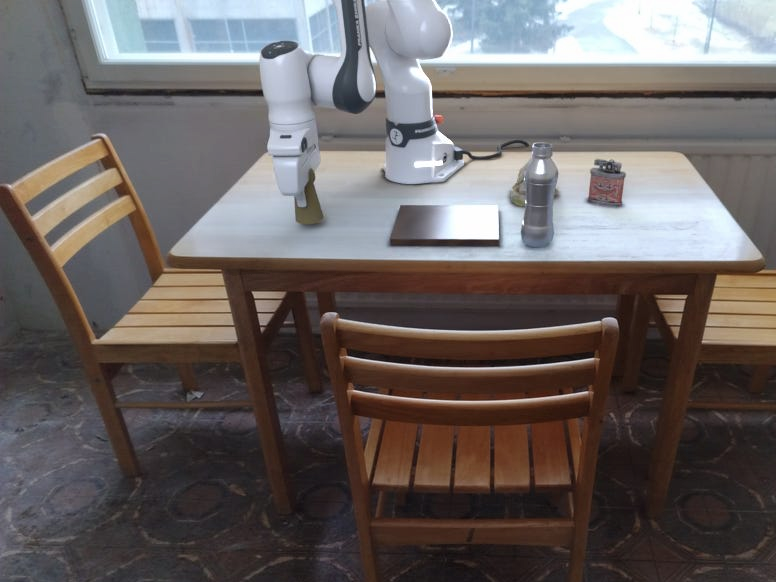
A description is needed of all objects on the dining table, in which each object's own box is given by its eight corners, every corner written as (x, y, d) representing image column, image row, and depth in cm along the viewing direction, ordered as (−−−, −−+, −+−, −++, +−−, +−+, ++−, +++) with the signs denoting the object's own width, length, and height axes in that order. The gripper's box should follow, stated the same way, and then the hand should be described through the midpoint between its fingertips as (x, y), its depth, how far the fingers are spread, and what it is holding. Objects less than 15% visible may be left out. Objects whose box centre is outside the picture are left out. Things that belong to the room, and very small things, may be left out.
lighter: (623, 203, 151) (629, 160, 145) (619, 208, 148) (625, 164, 142) (589, 198, 153) (594, 155, 148) (585, 202, 151) (589, 159, 145)
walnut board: (498, 212, 146) (498, 205, 145) (499, 246, 132) (499, 239, 131) (400, 211, 147) (400, 204, 146) (390, 246, 132) (389, 238, 131)
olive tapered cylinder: (317, 225, 136) (308, 174, 130) (290, 223, 137) (280, 172, 131) (328, 213, 141) (320, 163, 135) (302, 212, 142) (293, 162, 136)
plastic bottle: (518, 238, 135) (521, 140, 123) (550, 237, 135) (557, 139, 124) (522, 251, 130) (526, 151, 118) (556, 250, 130) (563, 150, 119)
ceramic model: (514, 184, 161) (515, 143, 155) (559, 187, 159) (562, 146, 153) (504, 205, 149) (505, 162, 144) (553, 209, 148) (556, 165, 142)
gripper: (292, 118, 137) (303, 182, 145) (263, 150, 121) (278, 219, 129) (321, 118, 137) (331, 182, 145) (297, 149, 120) (310, 219, 129)
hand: (306, 200), depth 137 cm, fingers closed on olive tapered cylinder, 4 cm apart
